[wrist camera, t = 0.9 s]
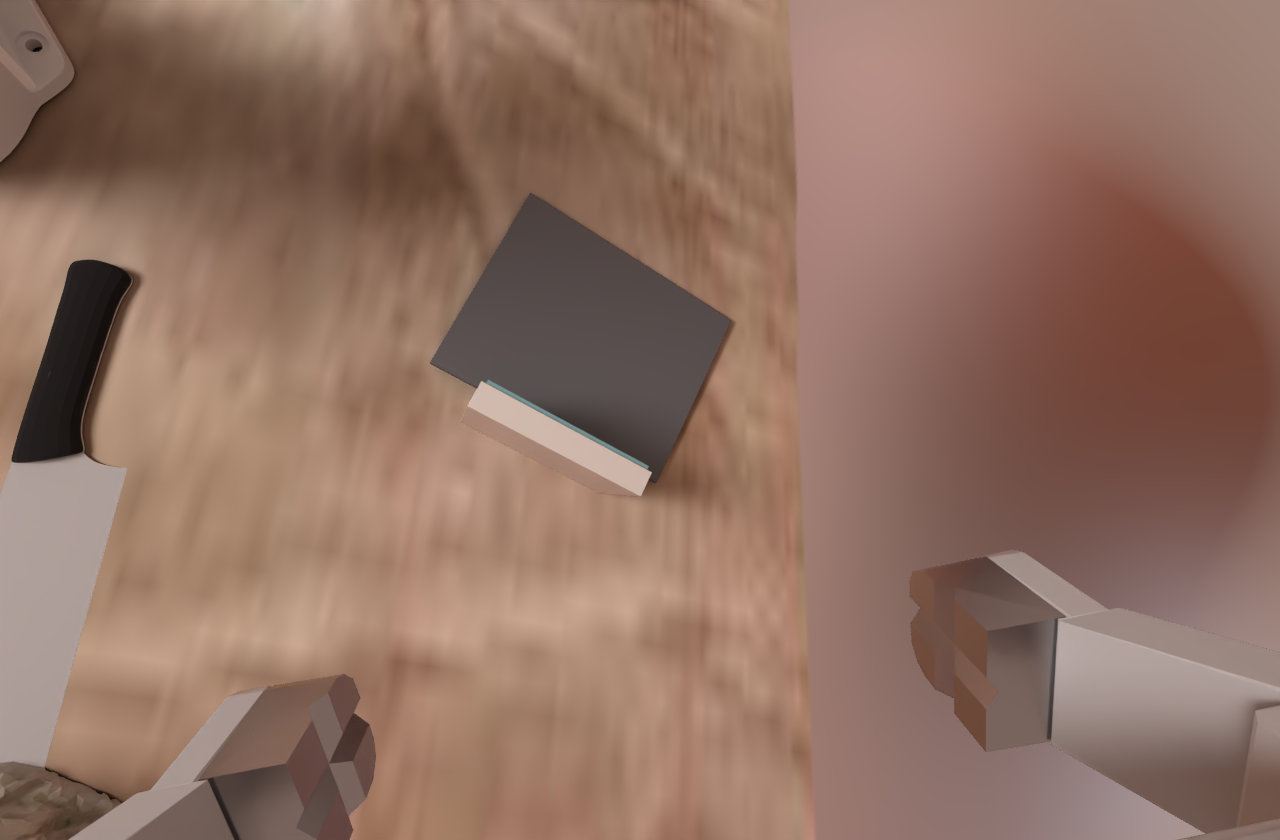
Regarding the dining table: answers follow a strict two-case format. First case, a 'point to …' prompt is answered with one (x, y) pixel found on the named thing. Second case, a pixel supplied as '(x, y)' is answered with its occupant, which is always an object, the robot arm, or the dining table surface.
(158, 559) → the dining table surface
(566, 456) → the tile
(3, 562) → the kitchen cleaver
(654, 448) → the mat
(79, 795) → the jagged grey rock
